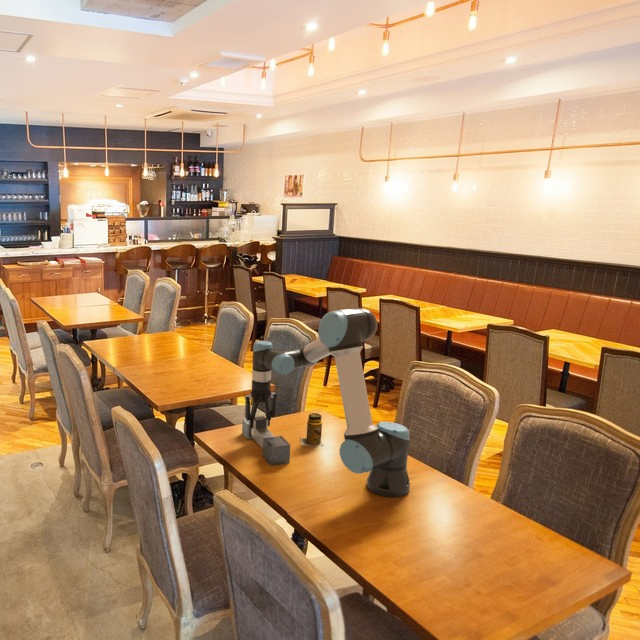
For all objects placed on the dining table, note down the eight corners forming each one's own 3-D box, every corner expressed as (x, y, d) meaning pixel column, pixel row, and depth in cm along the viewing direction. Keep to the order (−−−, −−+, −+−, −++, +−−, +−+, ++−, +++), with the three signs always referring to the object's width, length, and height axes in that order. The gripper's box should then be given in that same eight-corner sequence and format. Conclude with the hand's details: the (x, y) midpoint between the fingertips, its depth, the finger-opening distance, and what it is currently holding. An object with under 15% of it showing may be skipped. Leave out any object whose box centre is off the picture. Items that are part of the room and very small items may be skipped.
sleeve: (289, 463, 224) (290, 444, 222) (271, 465, 221) (271, 447, 219) (280, 453, 232) (281, 435, 230) (262, 456, 228) (263, 438, 227)
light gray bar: (277, 451, 230) (278, 430, 229) (266, 453, 228) (267, 431, 227) (257, 430, 250) (258, 410, 248) (247, 431, 248) (247, 412, 246)
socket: (264, 436, 247) (265, 422, 246) (246, 439, 243) (247, 424, 242) (259, 431, 252) (259, 417, 251) (242, 433, 249) (242, 419, 247)
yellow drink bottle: (322, 446, 241) (324, 418, 239) (302, 446, 240) (303, 418, 238) (320, 438, 248) (322, 411, 246) (300, 438, 247) (301, 411, 245)
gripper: (278, 375, 244) (275, 428, 248) (237, 378, 236) (235, 433, 241) (285, 380, 237) (282, 435, 242) (243, 384, 229) (241, 440, 234)
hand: (259, 434), depth 241 cm, fingers closed on light gray bar, 4 cm apart
